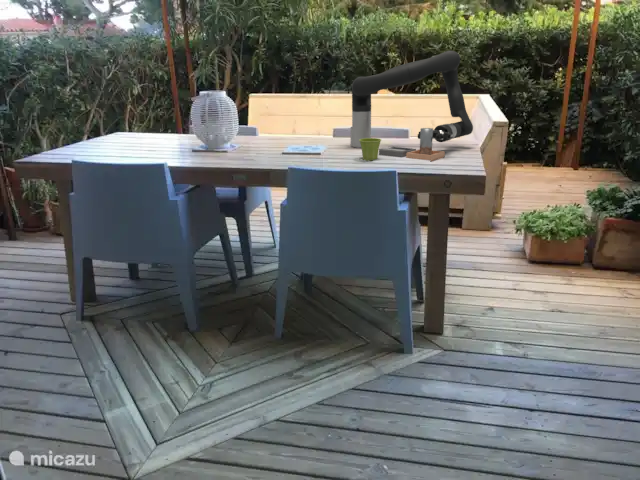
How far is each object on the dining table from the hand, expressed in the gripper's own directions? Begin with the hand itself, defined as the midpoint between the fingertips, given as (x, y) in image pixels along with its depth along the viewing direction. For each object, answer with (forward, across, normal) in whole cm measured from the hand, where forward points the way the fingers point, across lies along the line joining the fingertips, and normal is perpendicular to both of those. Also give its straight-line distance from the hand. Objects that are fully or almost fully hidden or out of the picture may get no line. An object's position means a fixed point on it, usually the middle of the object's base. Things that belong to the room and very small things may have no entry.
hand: (427, 137), depth 234 cm
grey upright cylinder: (+1, 0, +8) cm, 8 cm away
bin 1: (+1, -14, +9) cm, 17 cm away
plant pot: (+17, -18, +9) cm, 27 cm away
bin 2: (+1, 0, +9) cm, 9 cm away
